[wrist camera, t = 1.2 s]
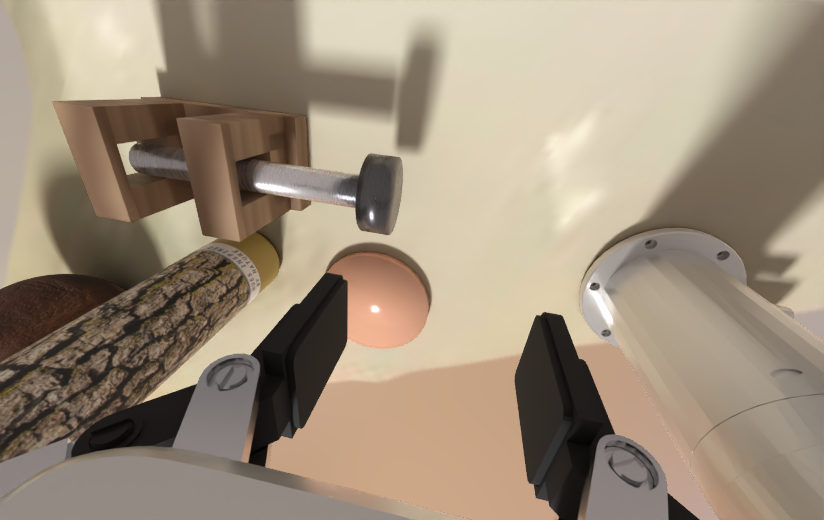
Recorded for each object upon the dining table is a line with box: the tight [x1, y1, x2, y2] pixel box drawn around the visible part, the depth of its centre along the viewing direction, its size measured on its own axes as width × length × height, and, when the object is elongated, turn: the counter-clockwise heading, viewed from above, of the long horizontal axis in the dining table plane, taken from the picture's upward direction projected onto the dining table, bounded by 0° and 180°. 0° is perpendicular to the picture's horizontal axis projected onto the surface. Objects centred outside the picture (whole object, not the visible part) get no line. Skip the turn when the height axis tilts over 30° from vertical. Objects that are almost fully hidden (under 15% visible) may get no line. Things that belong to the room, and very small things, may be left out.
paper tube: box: [0, 232, 279, 463], centre depth 25 cm, size 7×7×25 cm
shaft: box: [129, 143, 403, 235], centre depth 25 cm, size 20×6×6 cm, turn 84°
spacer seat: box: [327, 252, 429, 349], centre depth 35 cm, size 12×12×1 cm
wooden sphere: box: [0, 274, 126, 362], centre depth 37 cm, size 15×15×15 cm
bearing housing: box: [52, 97, 311, 242], centre depth 27 cm, size 14×8×9 cm, turn 84°
